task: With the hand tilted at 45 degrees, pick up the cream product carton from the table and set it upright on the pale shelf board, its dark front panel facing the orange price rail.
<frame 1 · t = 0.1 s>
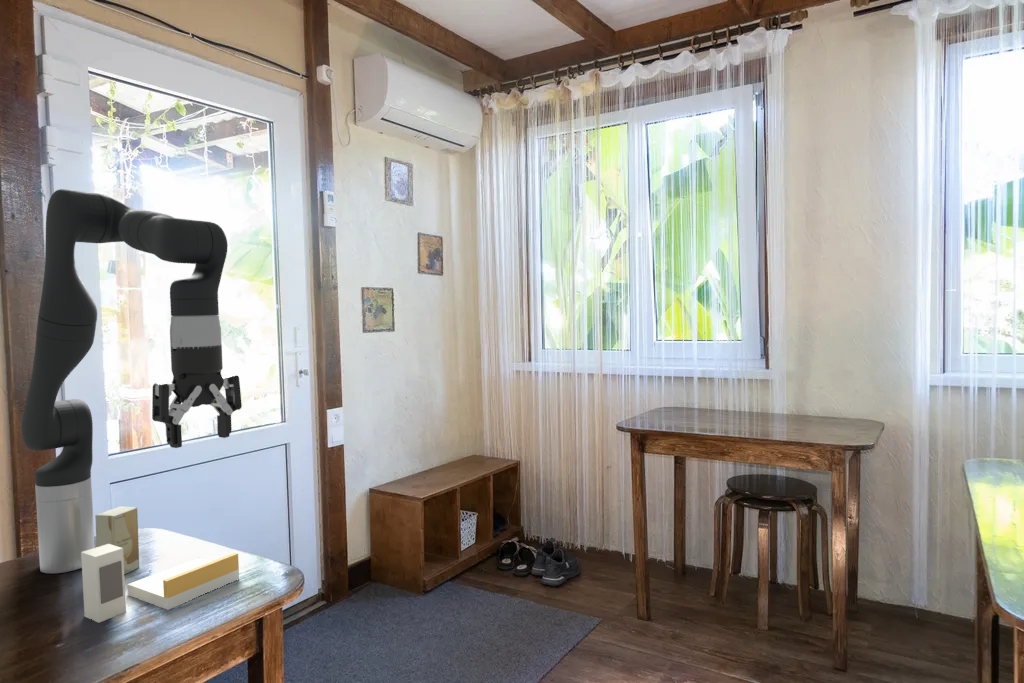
hand: (200, 442, 107), 29 cm above the table, tool pointing down, fingers open, 8 cm apart
product carton: (105, 614, 110), on the table
skincare box: (119, 573, 128), on the table
shelf board: (185, 587, 120), on the table
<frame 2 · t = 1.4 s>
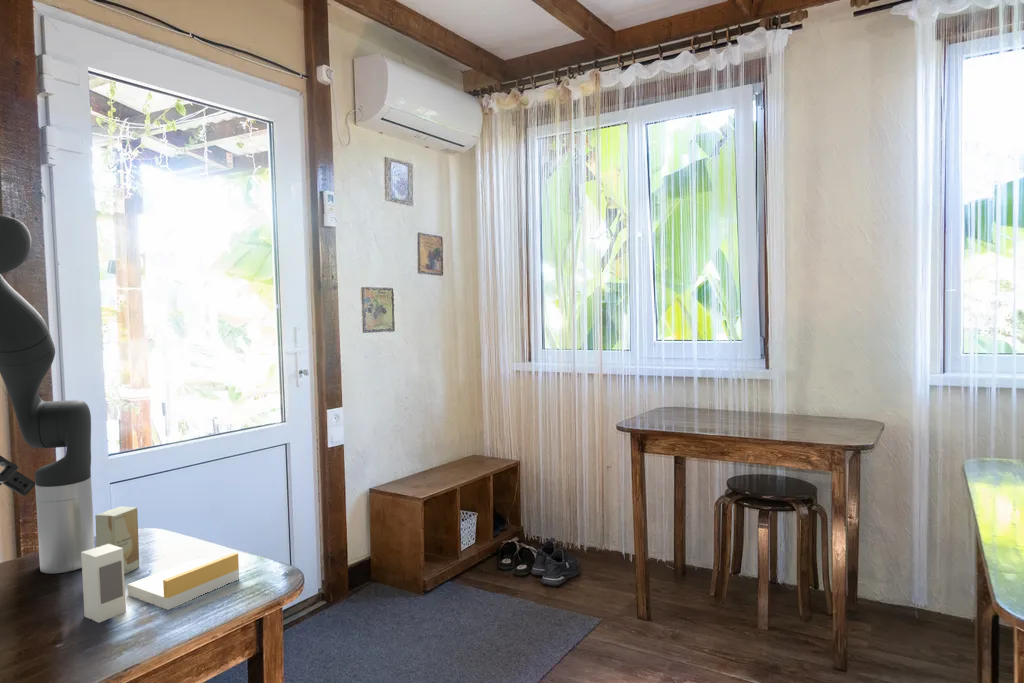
hand: (14, 486, 98), 25 cm above the table, tool tilted 45°, fingers open, 8 cm apart
nothing on the table moved.
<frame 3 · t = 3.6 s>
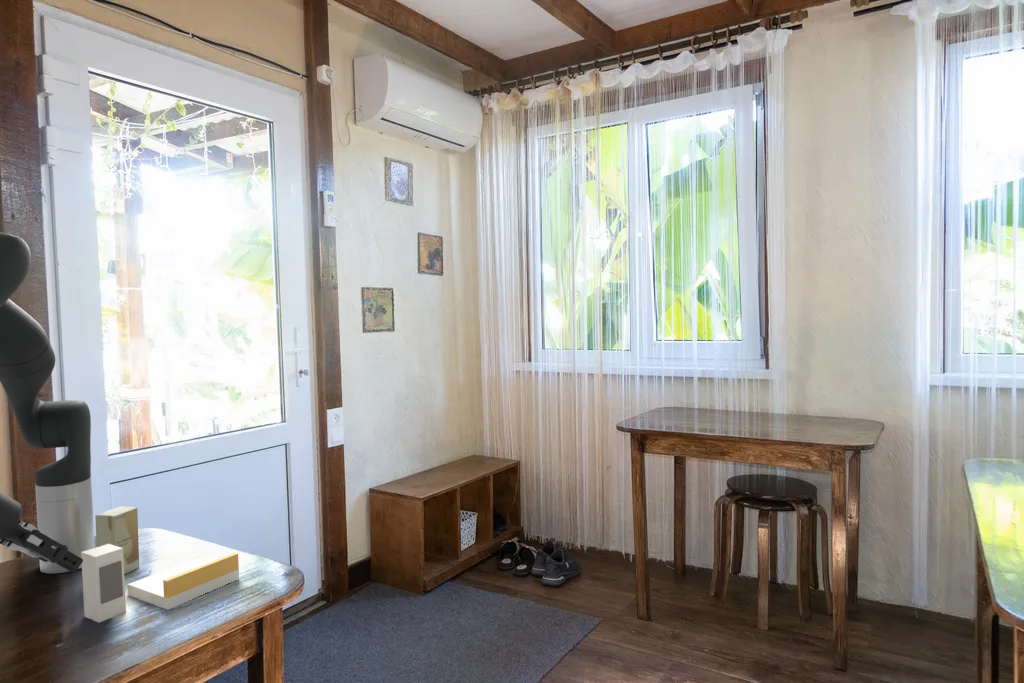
hand: (64, 561, 104), 11 cm above the table, tool tilted 45°, fingers open, 8 cm apart
nothing on the table moved.
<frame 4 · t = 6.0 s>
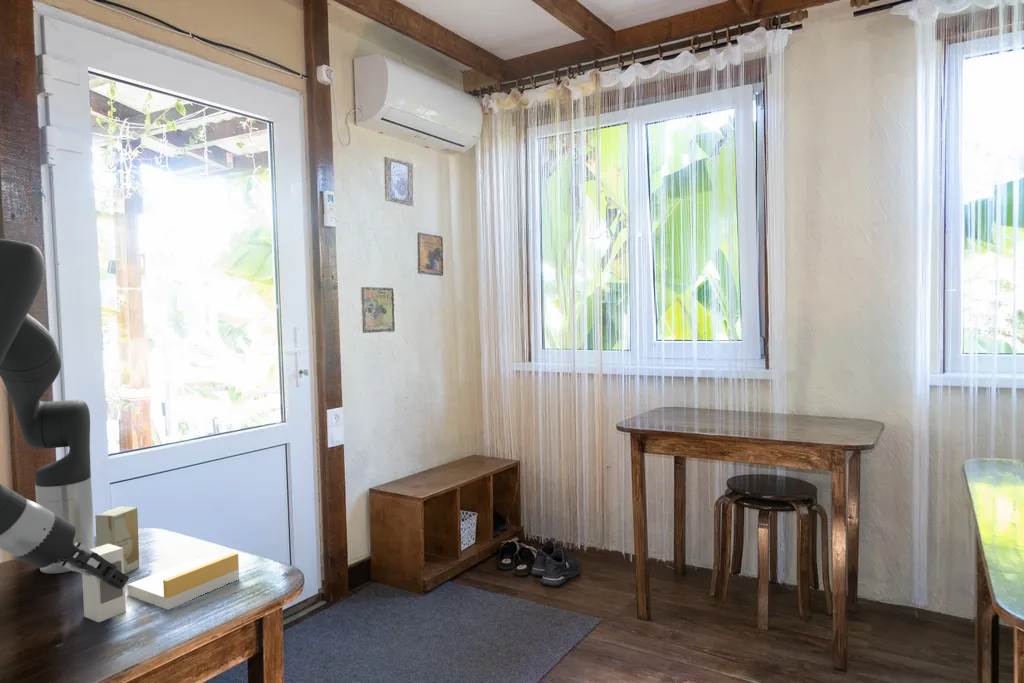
hand: (115, 580, 111), 5 cm above the table, tool tilted 45°, fingers closed on product carton, 4 cm apart
product carton: (105, 614, 110), on the table, touching gripper
everything else where it was.
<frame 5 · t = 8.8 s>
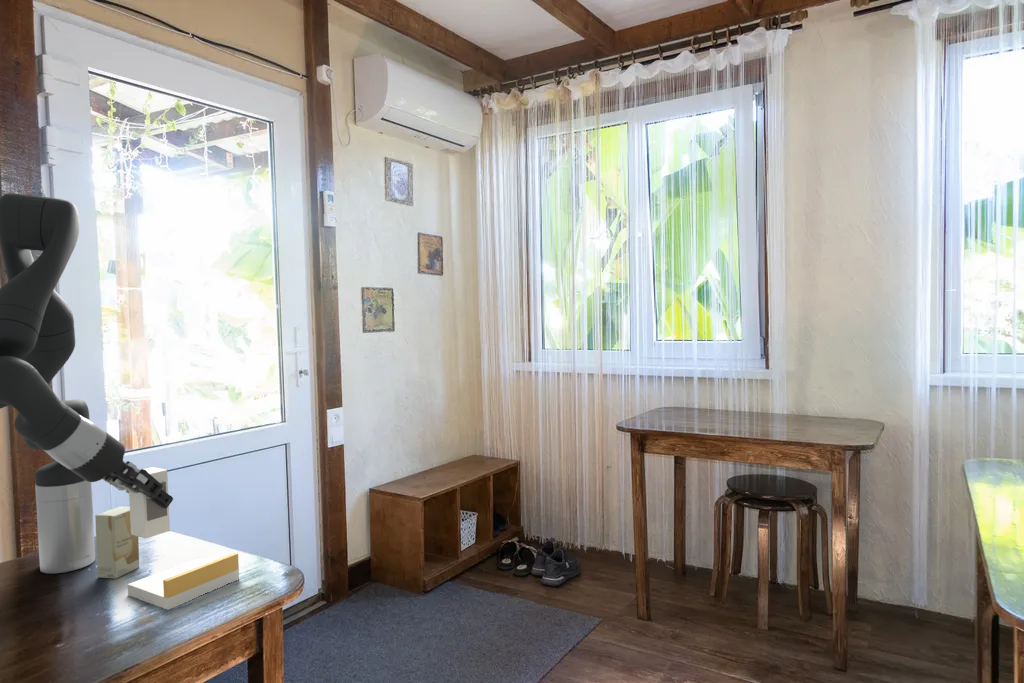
hand: (160, 501, 117), 17 cm above the table, tool tilted 45°, fingers closed on product carton, 4 cm apart
product carton: (150, 532, 115), point 12 cm above the table, touching gripper
everything else where it was.
when the fingers open (9 cm above the table, at t = 11.8 s): product carton drops 1 cm, resting on shelf board.
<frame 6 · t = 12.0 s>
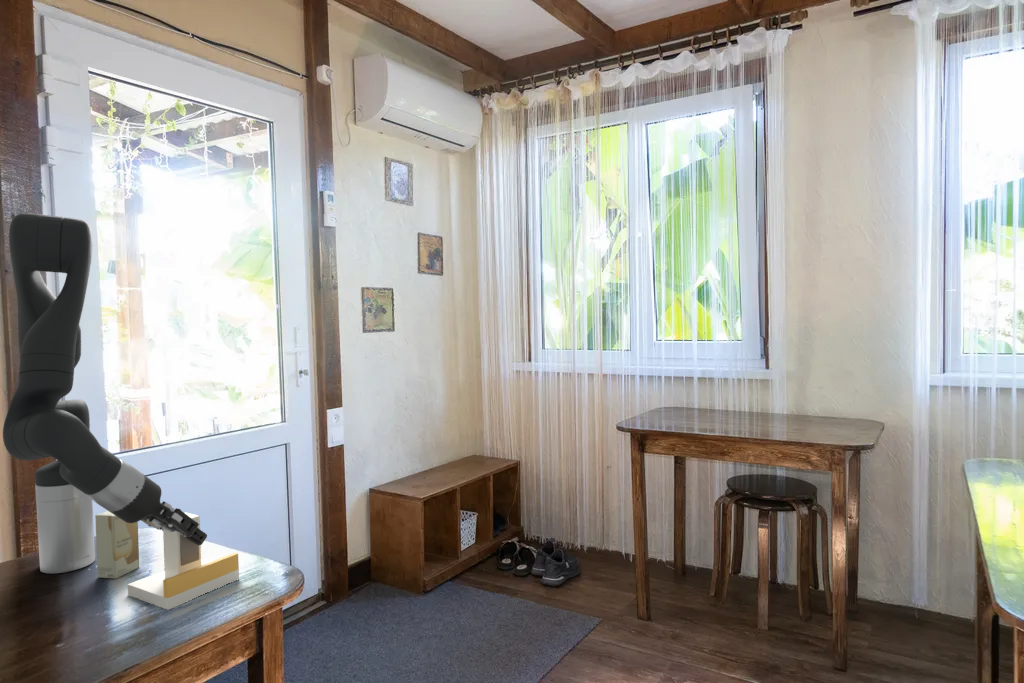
hand: (191, 537, 121), 9 cm above the table, tool tilted 45°, fingers open, 6 cm apart
product carton: (183, 576, 120), point 2 cm above the table, touching shelf board
everything else where it was.
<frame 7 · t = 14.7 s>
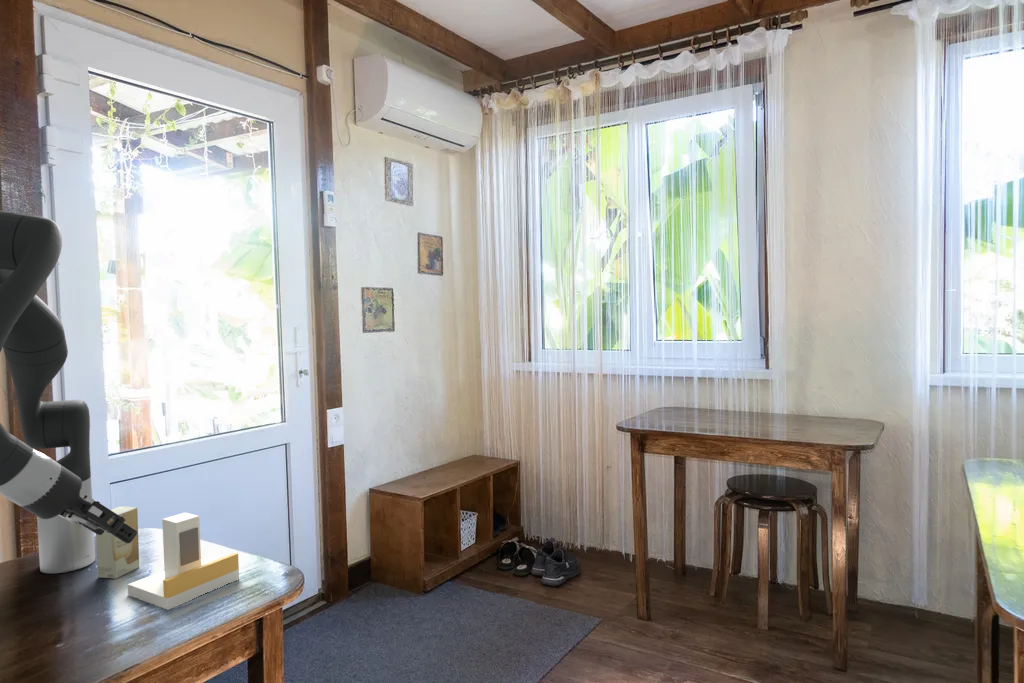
hand: (118, 533, 110), 14 cm above the table, tool tilted 45°, fingers open, 8 cm apart
nothing on the table moved.
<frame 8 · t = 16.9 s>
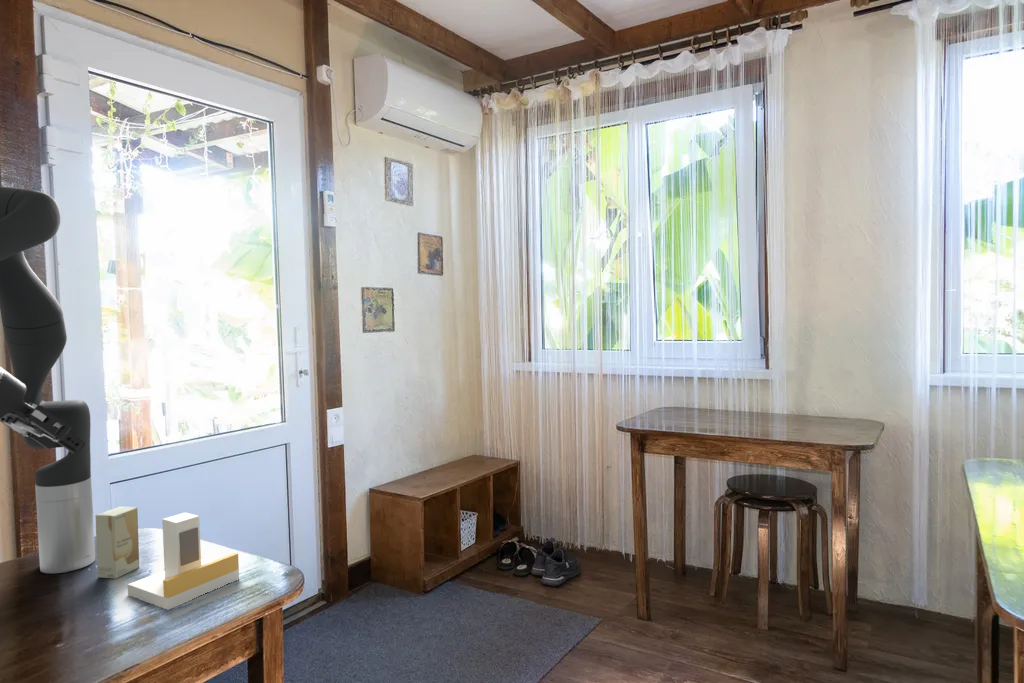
hand: (66, 446, 108), 29 cm above the table, tool tilted 45°, fingers open, 8 cm apart
nothing on the table moved.
at the end: product carton inside the target area (0.3 cm from its centre), point 2.0 cm above the table; product carton tilted 0°; the gripper is holding nothing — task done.
